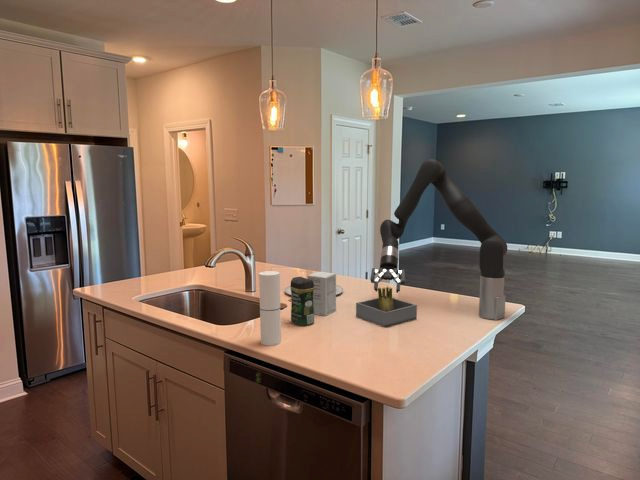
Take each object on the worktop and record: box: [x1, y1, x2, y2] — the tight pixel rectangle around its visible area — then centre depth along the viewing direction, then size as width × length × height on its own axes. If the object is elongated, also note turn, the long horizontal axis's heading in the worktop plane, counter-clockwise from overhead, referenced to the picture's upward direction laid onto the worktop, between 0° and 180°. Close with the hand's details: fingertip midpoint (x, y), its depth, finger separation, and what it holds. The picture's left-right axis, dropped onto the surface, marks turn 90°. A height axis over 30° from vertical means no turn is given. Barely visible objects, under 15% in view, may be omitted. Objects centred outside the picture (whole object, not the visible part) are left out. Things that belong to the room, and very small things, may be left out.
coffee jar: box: [289, 276, 315, 326], centre depth 178 cm, size 10×8×19 cm
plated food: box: [284, 284, 344, 296], centre depth 228 cm, size 30×30×3 cm
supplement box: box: [307, 271, 337, 317], centre depth 193 cm, size 10×9×17 cm
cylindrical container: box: [258, 270, 282, 347], centre depth 157 cm, size 7×7×25 cm
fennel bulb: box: [377, 286, 394, 312], centre depth 184 cm, size 6×5×12 cm
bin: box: [355, 295, 418, 329], centre depth 184 cm, size 18×18×6 cm
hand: (386, 291), depth 184 cm, fingers open, 8 cm apart
